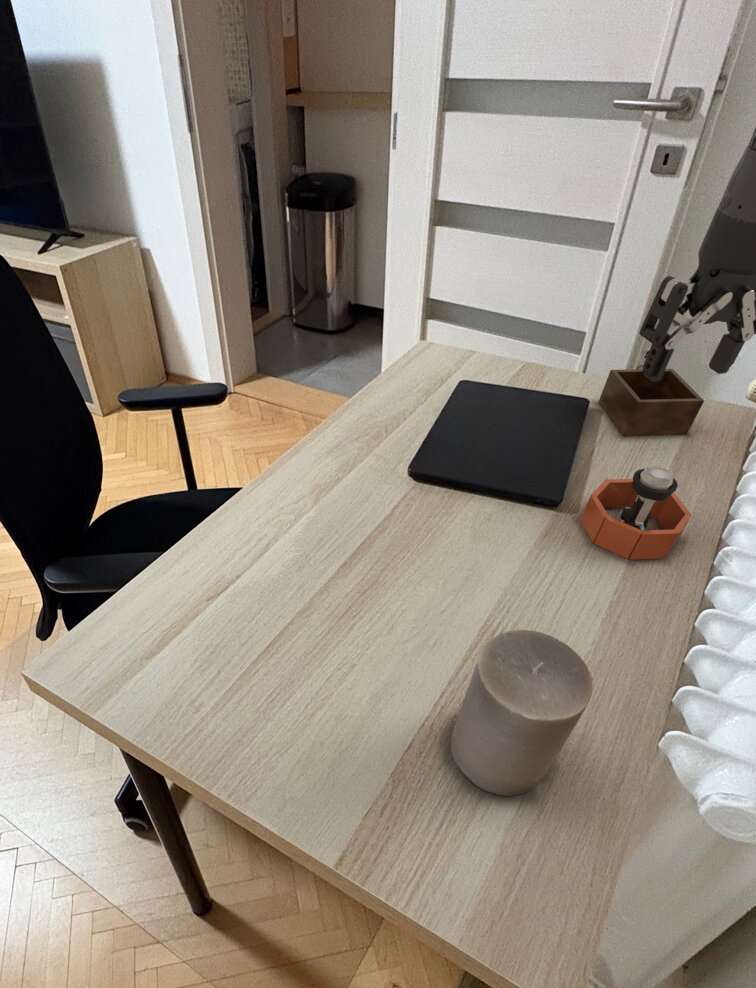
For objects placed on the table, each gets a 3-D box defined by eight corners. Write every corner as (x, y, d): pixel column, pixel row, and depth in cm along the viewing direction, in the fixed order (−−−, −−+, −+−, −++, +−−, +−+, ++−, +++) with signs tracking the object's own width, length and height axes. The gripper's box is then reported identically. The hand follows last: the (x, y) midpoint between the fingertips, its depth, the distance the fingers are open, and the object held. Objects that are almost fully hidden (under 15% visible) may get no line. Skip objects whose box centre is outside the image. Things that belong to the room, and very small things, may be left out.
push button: (605, 513, 89) (632, 454, 82) (644, 518, 89) (675, 459, 81) (610, 542, 85) (640, 482, 78) (651, 548, 84) (684, 488, 77)
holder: (657, 401, 112) (672, 368, 107) (686, 434, 104) (704, 400, 100) (597, 403, 111) (610, 369, 107) (623, 436, 104) (638, 402, 99)
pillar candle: (543, 721, 65) (593, 628, 54) (549, 807, 59) (607, 721, 48) (450, 704, 66) (481, 610, 56) (446, 787, 60) (479, 699, 49)
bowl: (650, 502, 91) (663, 477, 88) (689, 557, 83) (705, 532, 80) (571, 505, 91) (581, 479, 87) (602, 560, 82) (615, 535, 79)
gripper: (724, 226, 54) (648, 397, 66) (859, 216, 56) (762, 383, 68) (671, 202, 59) (608, 365, 71) (796, 193, 61) (716, 353, 73)
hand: (684, 374), depth 69 cm, fingers open, 8 cm apart
